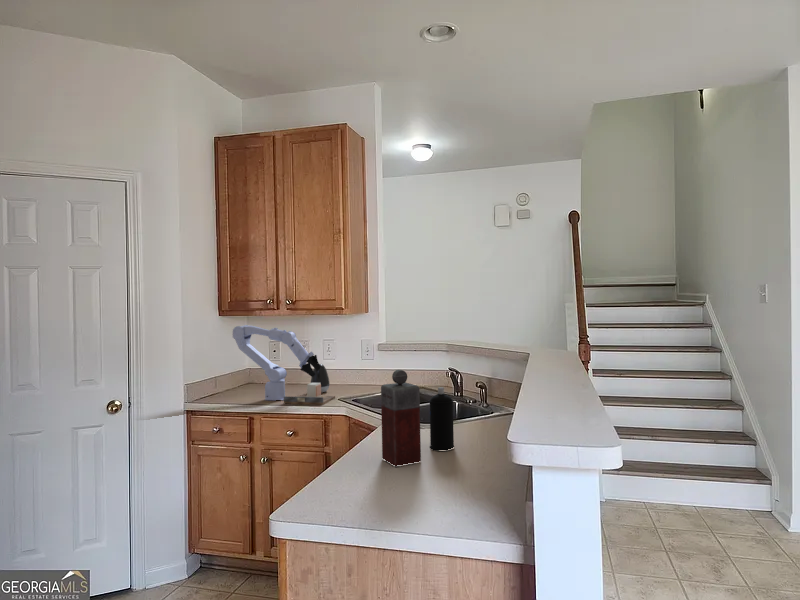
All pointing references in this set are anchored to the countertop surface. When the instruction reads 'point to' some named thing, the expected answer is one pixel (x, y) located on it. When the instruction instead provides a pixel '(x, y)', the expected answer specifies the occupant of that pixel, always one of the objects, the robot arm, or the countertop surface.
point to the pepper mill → (400, 421)
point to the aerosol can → (441, 421)
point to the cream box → (314, 390)
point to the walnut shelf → (308, 400)
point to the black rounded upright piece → (321, 378)
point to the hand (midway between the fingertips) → (316, 372)
